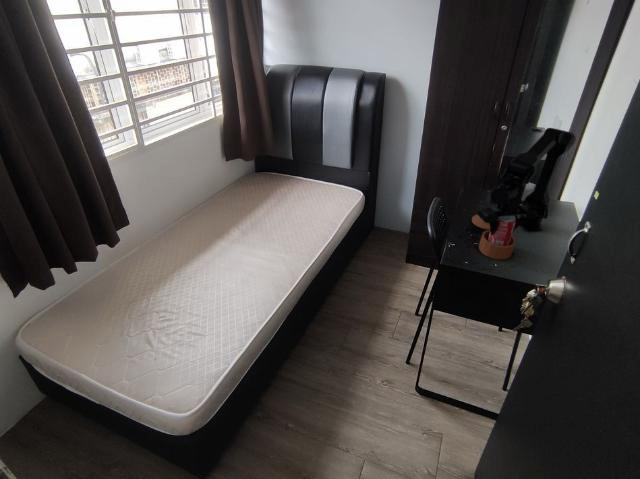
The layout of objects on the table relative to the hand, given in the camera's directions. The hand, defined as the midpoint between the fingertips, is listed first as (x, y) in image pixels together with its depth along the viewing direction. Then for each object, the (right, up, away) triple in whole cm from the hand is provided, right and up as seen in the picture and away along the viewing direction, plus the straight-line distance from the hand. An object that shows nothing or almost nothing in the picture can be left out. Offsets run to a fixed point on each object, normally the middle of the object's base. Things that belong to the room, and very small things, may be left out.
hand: (500, 234), depth 138 cm
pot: (0, -6, +4) cm, 7 cm away
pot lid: (+4, +5, +19) cm, 20 cm away
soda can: (0, -5, +3) cm, 6 cm away
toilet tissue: (+22, +13, +34) cm, 42 cm away
